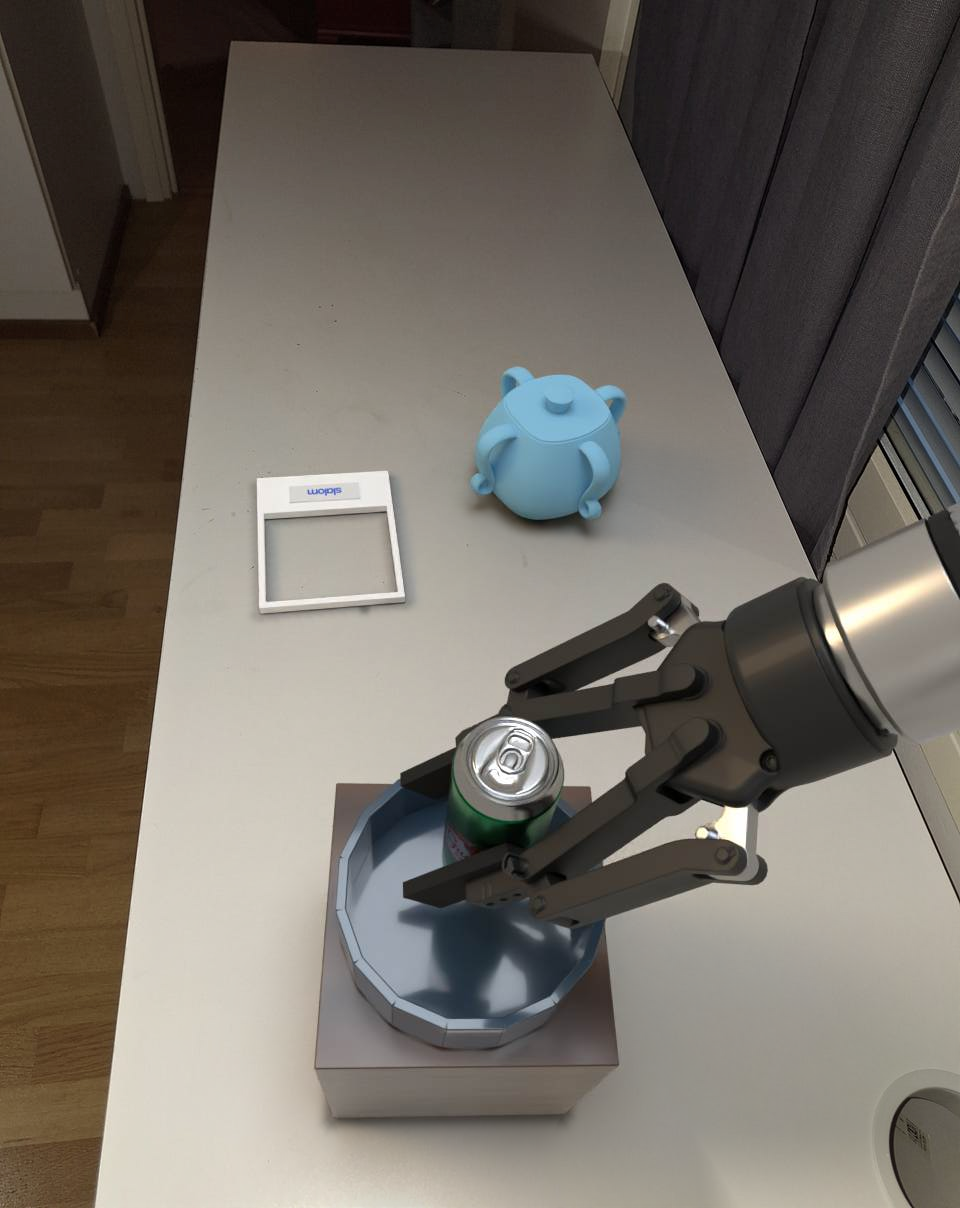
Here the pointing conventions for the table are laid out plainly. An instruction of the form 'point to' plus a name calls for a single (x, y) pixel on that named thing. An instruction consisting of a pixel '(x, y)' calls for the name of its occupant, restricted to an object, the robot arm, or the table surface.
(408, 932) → the bowl
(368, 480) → the photo frame
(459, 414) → the table surface
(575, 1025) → the stand
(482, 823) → the soda can
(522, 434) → the decorative pot
